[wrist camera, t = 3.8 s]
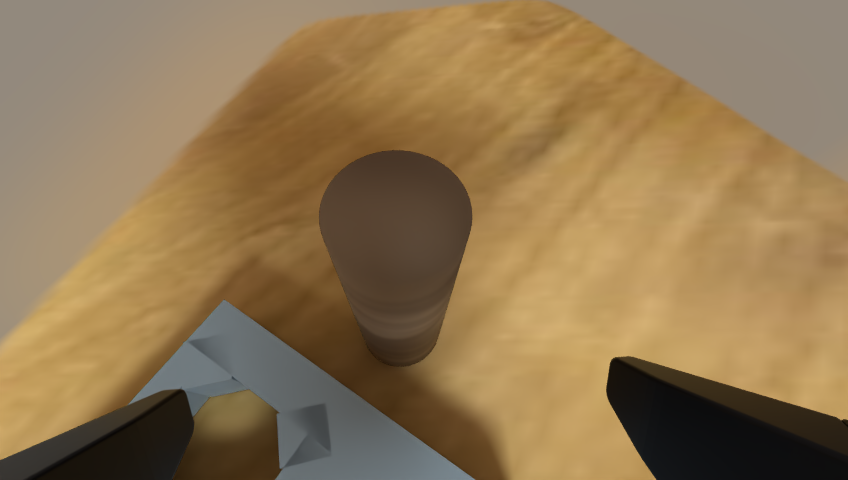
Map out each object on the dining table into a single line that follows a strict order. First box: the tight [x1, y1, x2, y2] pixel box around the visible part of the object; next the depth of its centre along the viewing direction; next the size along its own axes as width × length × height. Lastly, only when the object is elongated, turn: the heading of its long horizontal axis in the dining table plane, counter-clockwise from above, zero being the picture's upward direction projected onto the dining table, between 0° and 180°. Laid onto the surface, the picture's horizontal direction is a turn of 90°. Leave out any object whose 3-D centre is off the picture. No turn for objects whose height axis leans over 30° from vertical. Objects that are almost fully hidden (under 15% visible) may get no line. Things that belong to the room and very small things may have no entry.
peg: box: [319, 150, 472, 366], centre depth 16 cm, size 4×4×12 cm
